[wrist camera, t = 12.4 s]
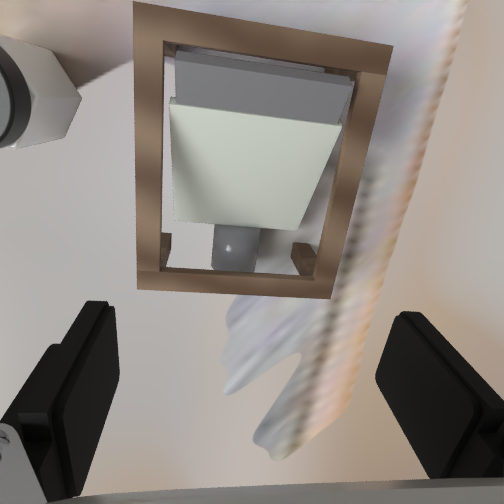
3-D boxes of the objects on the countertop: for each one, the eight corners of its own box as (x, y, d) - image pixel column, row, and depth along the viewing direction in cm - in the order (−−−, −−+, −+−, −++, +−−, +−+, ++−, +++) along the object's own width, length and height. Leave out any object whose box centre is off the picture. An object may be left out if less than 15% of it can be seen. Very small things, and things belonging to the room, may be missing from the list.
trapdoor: (169, 49, 24) (167, 59, 23) (355, 77, 26) (359, 88, 25) (175, 210, 38) (174, 220, 37) (295, 220, 40) (297, 230, 39)
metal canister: (214, 232, 35) (210, 275, 37) (263, 236, 36) (257, 278, 38) (214, 217, 40) (211, 255, 42) (257, 221, 41) (252, 258, 42)
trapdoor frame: (155, 30, 32) (132, 1, 23) (346, 60, 34) (393, 45, 25) (154, 247, 40) (137, 289, 31) (305, 257, 43) (330, 299, 34)
